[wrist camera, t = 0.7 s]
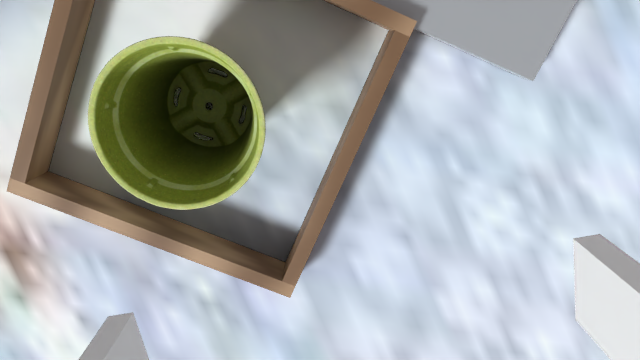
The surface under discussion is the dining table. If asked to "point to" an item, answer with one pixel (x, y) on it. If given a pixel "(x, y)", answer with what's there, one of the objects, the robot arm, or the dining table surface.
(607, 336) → the robot arm
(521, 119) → the dining table surface
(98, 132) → the plant pot
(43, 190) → the frame
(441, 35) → the stone coaster
